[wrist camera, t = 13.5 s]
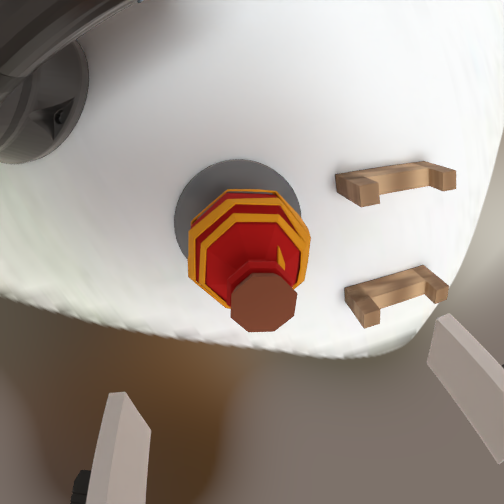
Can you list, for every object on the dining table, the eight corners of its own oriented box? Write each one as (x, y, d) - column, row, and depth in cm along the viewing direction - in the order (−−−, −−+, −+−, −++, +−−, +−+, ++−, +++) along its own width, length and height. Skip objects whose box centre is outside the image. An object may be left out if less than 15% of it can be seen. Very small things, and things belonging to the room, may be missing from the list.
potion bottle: (263, 283, 35) (294, 381, 21) (174, 249, 32) (153, 341, 19) (308, 199, 32) (378, 259, 18) (216, 155, 29) (220, 185, 15)
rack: (345, 301, 39) (364, 328, 33) (334, 174, 32) (359, 185, 27) (422, 277, 39) (446, 299, 34) (424, 161, 33) (455, 170, 27)
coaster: (193, 289, 35) (192, 292, 35) (160, 176, 30) (159, 177, 29) (305, 263, 36) (307, 266, 35) (289, 148, 31) (291, 149, 30)
